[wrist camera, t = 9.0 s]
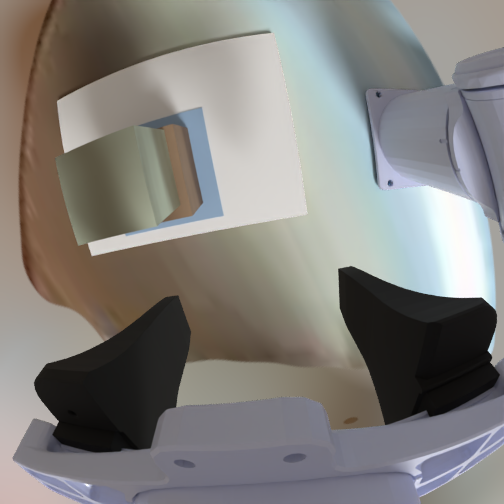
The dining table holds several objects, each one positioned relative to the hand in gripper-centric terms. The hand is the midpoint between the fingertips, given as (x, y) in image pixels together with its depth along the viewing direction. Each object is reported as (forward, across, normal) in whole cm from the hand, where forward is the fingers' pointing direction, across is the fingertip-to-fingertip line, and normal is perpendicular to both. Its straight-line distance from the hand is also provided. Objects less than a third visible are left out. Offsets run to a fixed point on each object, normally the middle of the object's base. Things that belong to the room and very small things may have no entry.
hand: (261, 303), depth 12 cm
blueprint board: (+10, +5, -8) cm, 14 cm away
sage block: (+5, +6, -6) cm, 10 cm away
